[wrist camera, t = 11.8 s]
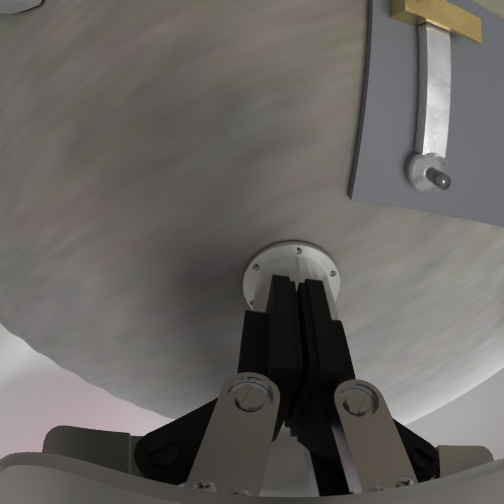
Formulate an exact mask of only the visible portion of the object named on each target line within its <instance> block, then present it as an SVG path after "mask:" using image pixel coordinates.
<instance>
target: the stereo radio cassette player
mask: <svg viewBox="0 0 504 504" xmlns="http://www.w3.org/2000/svg"><path fill="white" fill-rule="evenodd" d="M41 2H42V0H0V14H14V13H18V12H21V11H24V10H27V9H30V8H33V7H35V6H38V5H40V4H41Z"/></svg>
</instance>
